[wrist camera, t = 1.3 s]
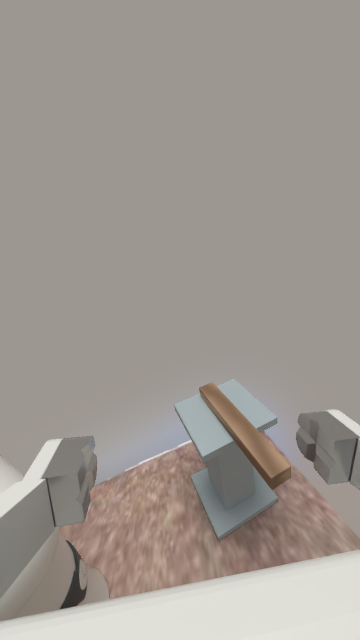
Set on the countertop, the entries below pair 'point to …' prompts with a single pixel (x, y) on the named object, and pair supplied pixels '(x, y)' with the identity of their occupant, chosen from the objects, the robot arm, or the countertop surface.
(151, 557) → the countertop surface
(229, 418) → the block
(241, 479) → the stand
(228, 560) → the countertop surface
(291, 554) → the countertop surface
